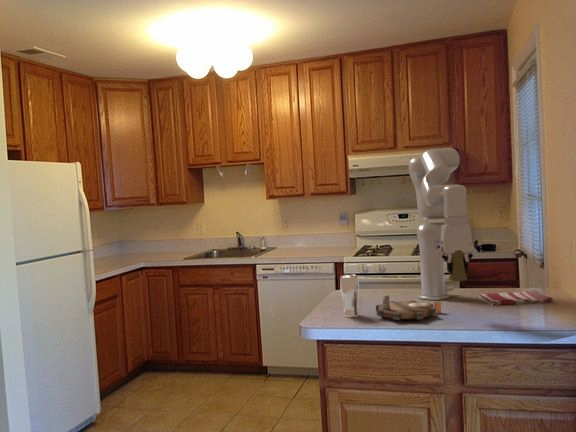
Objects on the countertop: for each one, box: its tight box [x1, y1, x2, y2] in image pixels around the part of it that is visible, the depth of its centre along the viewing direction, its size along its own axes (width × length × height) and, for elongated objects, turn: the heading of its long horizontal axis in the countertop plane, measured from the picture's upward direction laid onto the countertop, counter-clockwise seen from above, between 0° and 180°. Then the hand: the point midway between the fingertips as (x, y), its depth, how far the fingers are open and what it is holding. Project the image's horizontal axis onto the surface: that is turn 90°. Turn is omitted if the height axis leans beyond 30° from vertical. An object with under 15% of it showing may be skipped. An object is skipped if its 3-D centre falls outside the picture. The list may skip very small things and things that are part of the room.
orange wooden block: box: [399, 301, 442, 321], centre depth 184 cm, size 19×12×4 cm, turn 112°
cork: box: [448, 250, 468, 282], centre depth 173 cm, size 6×6×11 cm
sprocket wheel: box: [375, 294, 437, 321], centre depth 183 cm, size 22×22×7 cm
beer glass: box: [339, 274, 360, 318], centre depth 187 cm, size 7×7×15 cm
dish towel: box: [477, 290, 554, 306], centre depth 199 cm, size 17×23×3 cm
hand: (457, 272), depth 173 cm, fingers closed on cork, 4 cm apart
